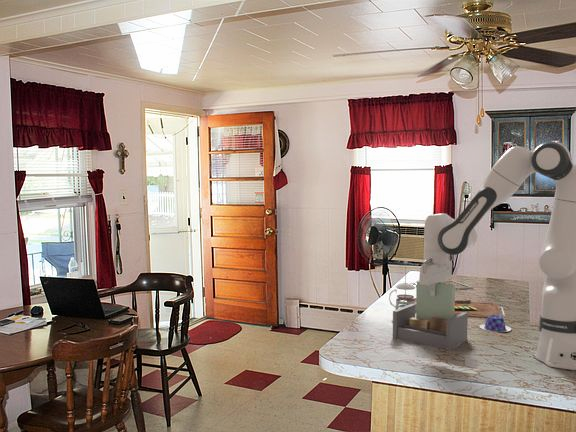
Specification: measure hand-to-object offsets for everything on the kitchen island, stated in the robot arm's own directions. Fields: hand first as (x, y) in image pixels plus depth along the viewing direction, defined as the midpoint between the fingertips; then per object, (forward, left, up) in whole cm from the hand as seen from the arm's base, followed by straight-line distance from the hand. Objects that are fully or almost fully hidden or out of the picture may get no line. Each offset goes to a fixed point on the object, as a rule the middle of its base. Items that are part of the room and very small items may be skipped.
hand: (435, 294), depth 202 cm
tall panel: (0, 0, -16) cm, 16 cm away
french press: (+24, -21, -17) cm, 36 cm away
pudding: (-12, -30, -18) cm, 37 cm away
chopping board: (+15, -51, -18) cm, 56 cm away
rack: (0, +4, -17) cm, 18 cm away
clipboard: (+39, -96, -18) cm, 105 cm away
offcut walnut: (-4, +4, -16) cm, 17 cm away
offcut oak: (+4, +4, -16) cm, 17 cm away
